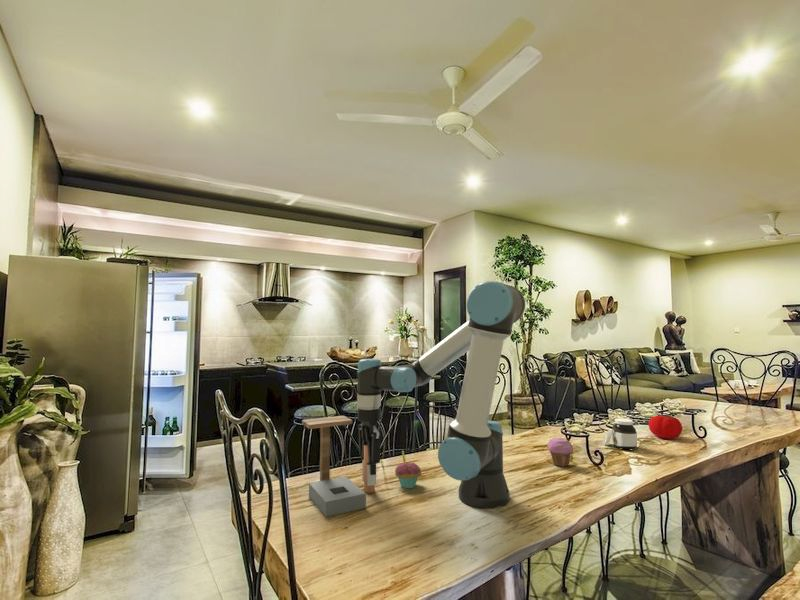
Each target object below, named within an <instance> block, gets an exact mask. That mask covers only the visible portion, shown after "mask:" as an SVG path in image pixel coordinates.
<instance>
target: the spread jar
mask: <svg viewBox="0 0 800 600" xmlns="http://www.w3.org/2000/svg"><path fill="white" fill-rule="evenodd" d="M611 439H612V442H613V445H614V447H615V446H616V447H615V448H617V447H618V448H617V449H619V448H622V449H621V450H623V449H633V450H636V448H637V447H638V433H637V430H636V427H635V426H634V421H633V420H632V419H629V418H615V419H614V424H613V426H612V430H611V429H608V431H607V433H606V436H605V440H604V443H603V444H604V445H605V446H607V445H608V446H609V443H610V442H611Z"/></svg>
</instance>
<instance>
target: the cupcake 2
mask: <svg viewBox="0 0 800 600" xmlns="http://www.w3.org/2000/svg"><path fill="white" fill-rule="evenodd" d="M547 449H548V451H549V452H550V453H549V454H550V456H551V459H552V463H553V465H554V466H558V467H562V468H563V467H566V466H569V465H570V462H571V454H572V453H573V451H574V447H573V444H572V443H571V442H570V441H569V440H567V439H566V438H564V437H553V438H550V439H549V441H548V443H547Z"/></svg>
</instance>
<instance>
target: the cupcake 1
mask: <svg viewBox="0 0 800 600" xmlns="http://www.w3.org/2000/svg"><path fill="white" fill-rule="evenodd" d="M401 454H402V460H403V463H400V464H398V465H397V466H396V467H395V471H394V475H395V476H396V477H397V478H398V481H399V484H400V487H401V488H404V489H413V488H415V487H416V484H417V480H418V478H419V477H421V476H422V470H421V468H420V466H419V465H418V464H416V463H415V462H407V461H406V456H405V451H404V450H403V448H402V450H401Z"/></svg>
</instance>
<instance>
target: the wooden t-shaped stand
mask: <svg viewBox="0 0 800 600" xmlns="http://www.w3.org/2000/svg"><path fill="white" fill-rule="evenodd" d="M301 424H302V425H303V426H304V427H306V428H307V429H308V430H312V429H319V430H320V434H319V437H320V438H319V440H320V441H319V444H320V445H319V446H320V447H319V481H323V480H328V479H331V477H330V472H331V469H330V468H331V467H330V464H331V463H330V462H331V461H330V459H331V458H330V456H331V454H330V453H331V452H330V451H331V449H330V448H331V439H330V438H331V427H337V426H346V425H352V424H353V419H351V418H349V417H348V416H345V415H336V416H328V417H327V416H325V417H318V418H310V419H309V418H308V419H301Z"/></svg>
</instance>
